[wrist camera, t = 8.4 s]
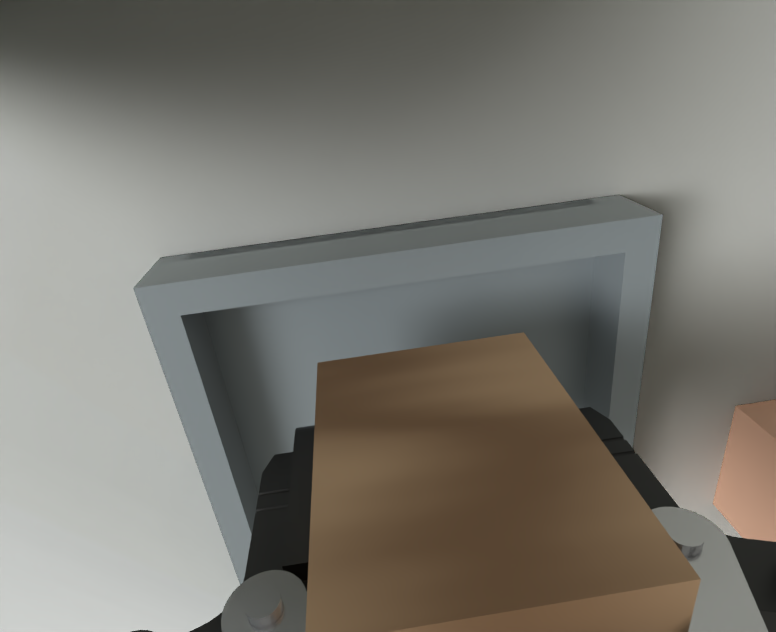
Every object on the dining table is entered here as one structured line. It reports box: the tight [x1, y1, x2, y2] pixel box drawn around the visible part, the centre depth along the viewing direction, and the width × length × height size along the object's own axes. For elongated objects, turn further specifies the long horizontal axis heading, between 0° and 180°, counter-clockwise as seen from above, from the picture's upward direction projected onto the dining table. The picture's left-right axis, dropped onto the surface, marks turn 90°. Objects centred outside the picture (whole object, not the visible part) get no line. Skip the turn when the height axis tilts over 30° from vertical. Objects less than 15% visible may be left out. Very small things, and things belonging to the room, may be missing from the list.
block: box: [305, 332, 701, 632], centre depth 9 cm, size 4×4×6 cm
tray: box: [133, 195, 663, 585], centre depth 16 cm, size 16×12×2 cm
